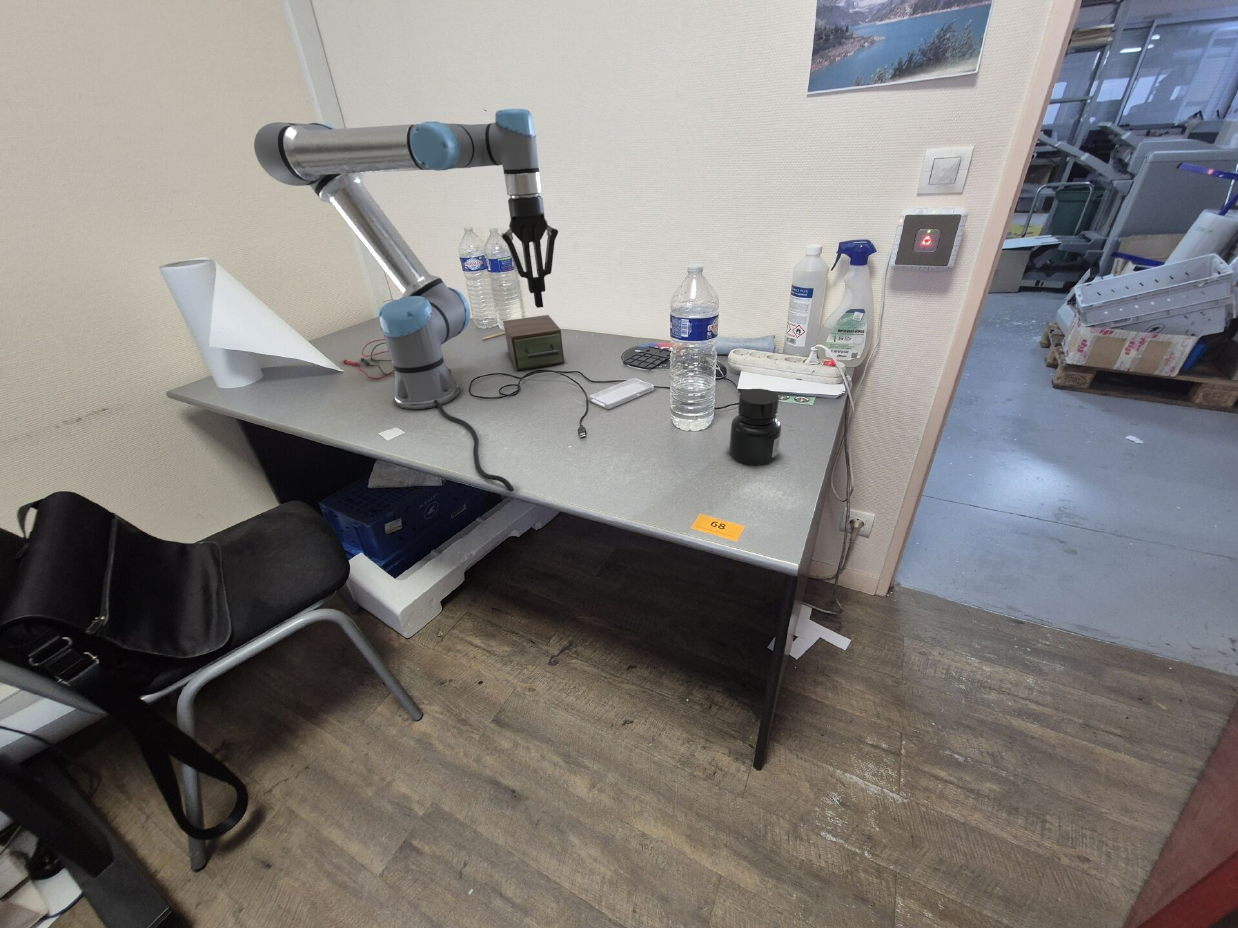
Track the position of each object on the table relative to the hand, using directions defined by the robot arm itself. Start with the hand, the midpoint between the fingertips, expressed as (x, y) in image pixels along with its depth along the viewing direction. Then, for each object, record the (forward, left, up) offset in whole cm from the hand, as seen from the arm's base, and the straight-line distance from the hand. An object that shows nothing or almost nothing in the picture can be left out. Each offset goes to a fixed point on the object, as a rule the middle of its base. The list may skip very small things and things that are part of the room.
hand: (539, 306), depth 121 cm
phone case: (-17, -14, -20) cm, 30 cm away
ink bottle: (-53, -28, -20) cm, 63 cm away
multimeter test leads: (+35, +40, -20) cm, 57 cm away
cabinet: (+20, 0, -19) cm, 28 cm away
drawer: (+15, 0, -19) cm, 24 cm away
